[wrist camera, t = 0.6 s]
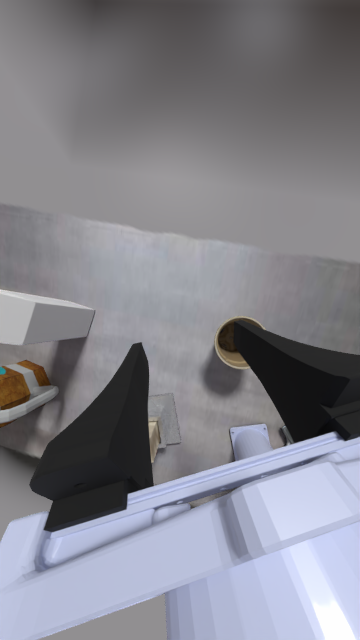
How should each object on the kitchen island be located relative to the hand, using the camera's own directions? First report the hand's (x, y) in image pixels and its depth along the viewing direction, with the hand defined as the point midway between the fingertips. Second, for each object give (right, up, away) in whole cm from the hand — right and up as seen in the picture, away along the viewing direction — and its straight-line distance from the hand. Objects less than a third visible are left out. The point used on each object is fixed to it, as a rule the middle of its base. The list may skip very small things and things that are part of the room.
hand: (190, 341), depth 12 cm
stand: (-7, -22, +26) cm, 34 cm away
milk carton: (-26, +2, +28) cm, 38 cm away
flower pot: (+11, -2, +25) cm, 27 cm away
